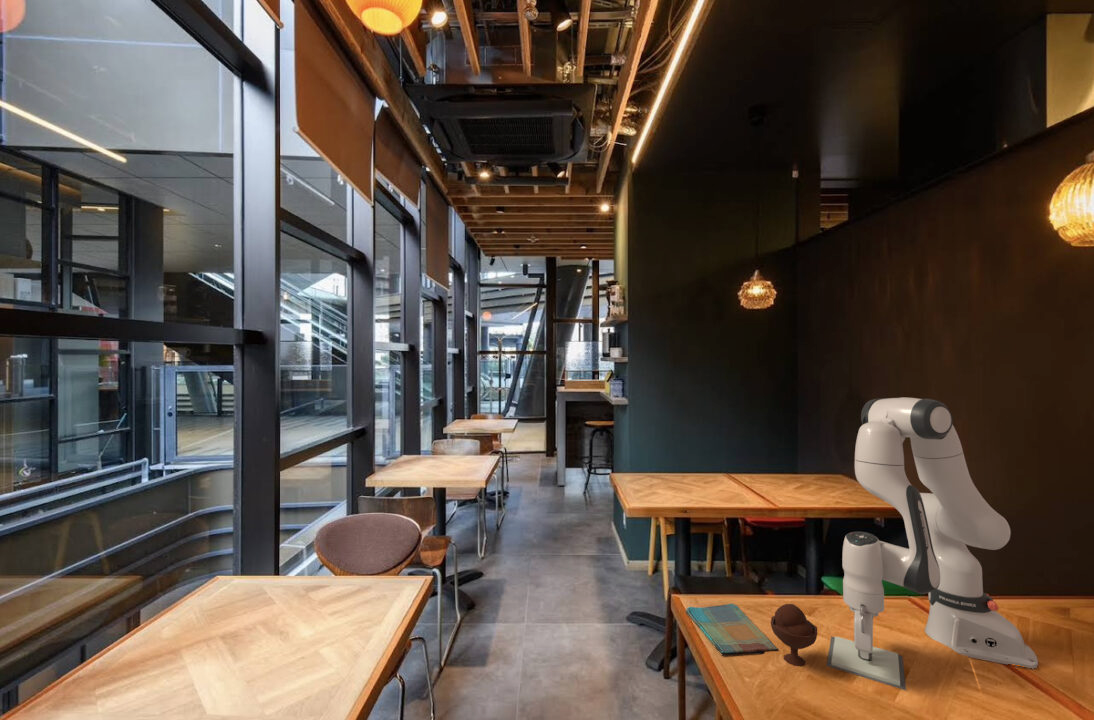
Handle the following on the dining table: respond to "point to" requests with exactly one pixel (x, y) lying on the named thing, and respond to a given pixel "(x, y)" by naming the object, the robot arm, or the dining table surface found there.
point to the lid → (866, 661)
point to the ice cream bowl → (793, 631)
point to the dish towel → (730, 630)
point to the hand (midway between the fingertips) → (864, 651)
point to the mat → (901, 672)
